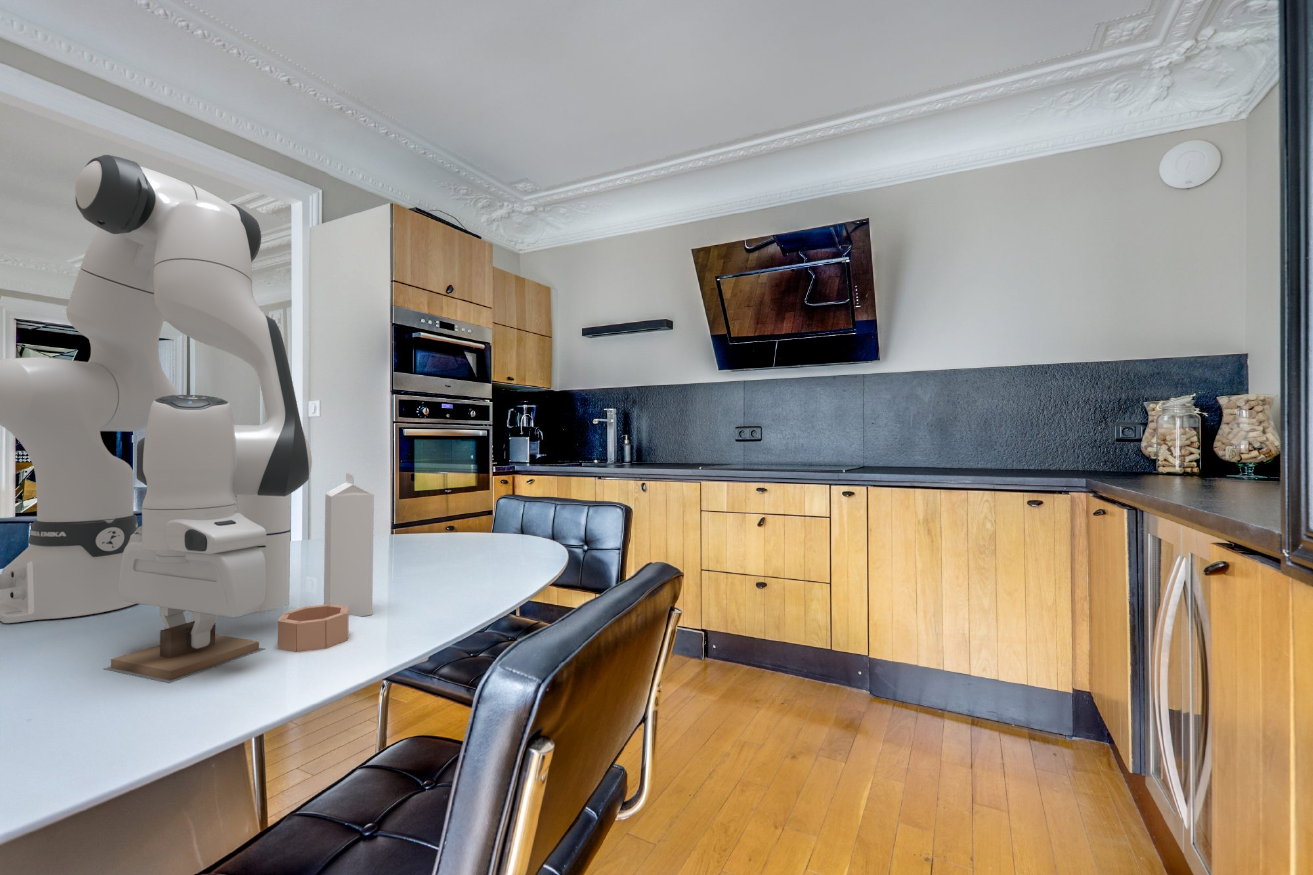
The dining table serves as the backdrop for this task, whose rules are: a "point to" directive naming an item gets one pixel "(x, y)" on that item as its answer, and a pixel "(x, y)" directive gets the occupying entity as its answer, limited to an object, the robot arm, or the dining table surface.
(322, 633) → the bowl
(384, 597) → the dining table surface
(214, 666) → the mat
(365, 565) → the milk
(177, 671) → the lid
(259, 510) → the cylindrical container
